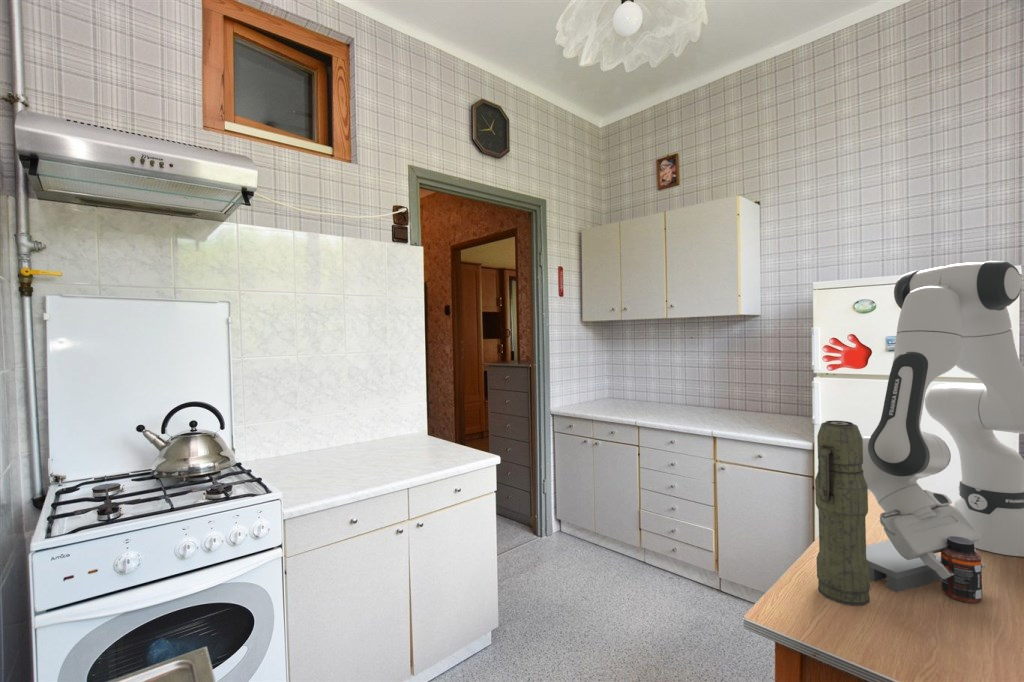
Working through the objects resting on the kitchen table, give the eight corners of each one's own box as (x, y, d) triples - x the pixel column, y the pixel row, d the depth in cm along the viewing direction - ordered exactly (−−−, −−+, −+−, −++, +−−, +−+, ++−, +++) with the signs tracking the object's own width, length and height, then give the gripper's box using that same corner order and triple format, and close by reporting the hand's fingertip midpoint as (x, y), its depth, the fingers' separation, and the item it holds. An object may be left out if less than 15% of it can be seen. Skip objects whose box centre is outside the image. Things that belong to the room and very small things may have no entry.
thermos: (881, 594, 97) (877, 421, 96) (854, 614, 91) (850, 429, 90) (833, 576, 104) (829, 416, 104) (805, 593, 98) (801, 423, 98)
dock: (894, 555, 113) (893, 538, 113) (949, 577, 102) (948, 559, 102) (844, 568, 108) (844, 550, 108) (897, 592, 97) (896, 572, 97)
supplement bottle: (991, 606, 92) (989, 547, 92) (955, 603, 93) (953, 545, 93) (968, 589, 98) (967, 534, 97) (934, 587, 99) (933, 532, 99)
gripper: (886, 507, 98) (942, 576, 89) (951, 494, 105) (1010, 557, 96) (864, 521, 103) (916, 588, 94) (929, 507, 109) (983, 569, 100)
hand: (964, 572), depth 95 cm, fingers open, 8 cm apart
